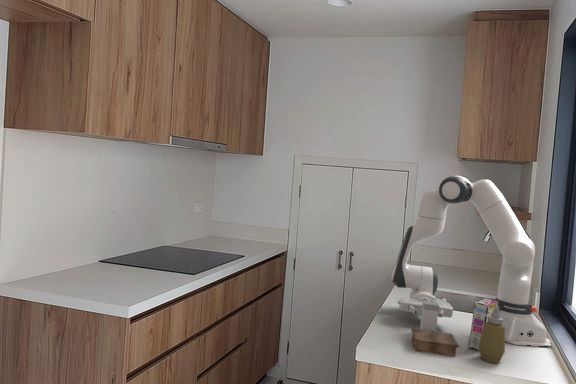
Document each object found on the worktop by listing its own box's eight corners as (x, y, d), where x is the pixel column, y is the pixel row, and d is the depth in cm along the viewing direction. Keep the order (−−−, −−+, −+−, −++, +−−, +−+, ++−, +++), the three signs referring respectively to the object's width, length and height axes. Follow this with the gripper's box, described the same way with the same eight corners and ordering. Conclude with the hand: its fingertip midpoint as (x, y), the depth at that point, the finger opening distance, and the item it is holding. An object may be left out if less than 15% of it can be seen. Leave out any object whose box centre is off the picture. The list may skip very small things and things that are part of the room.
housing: (433, 333, 196) (437, 302, 195) (435, 338, 191) (439, 305, 190) (419, 331, 196) (422, 300, 196) (420, 336, 191) (424, 303, 191)
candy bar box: (482, 352, 181) (488, 305, 180) (467, 347, 184) (473, 301, 183) (492, 345, 189) (498, 300, 188) (479, 341, 192) (484, 297, 191)
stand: (450, 344, 185) (451, 333, 185) (457, 357, 173) (458, 345, 173) (410, 339, 186) (411, 328, 186) (414, 351, 175) (415, 339, 174)
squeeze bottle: (506, 361, 174) (513, 308, 173) (497, 366, 168) (505, 311, 167) (482, 353, 179) (489, 301, 178) (473, 358, 173) (480, 305, 172)
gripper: (397, 292, 212) (400, 301, 198) (449, 299, 209) (456, 308, 196) (396, 307, 212) (398, 317, 198) (447, 314, 210) (454, 325, 196)
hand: (427, 313), depth 197 cm, fingers open, 8 cm apart
